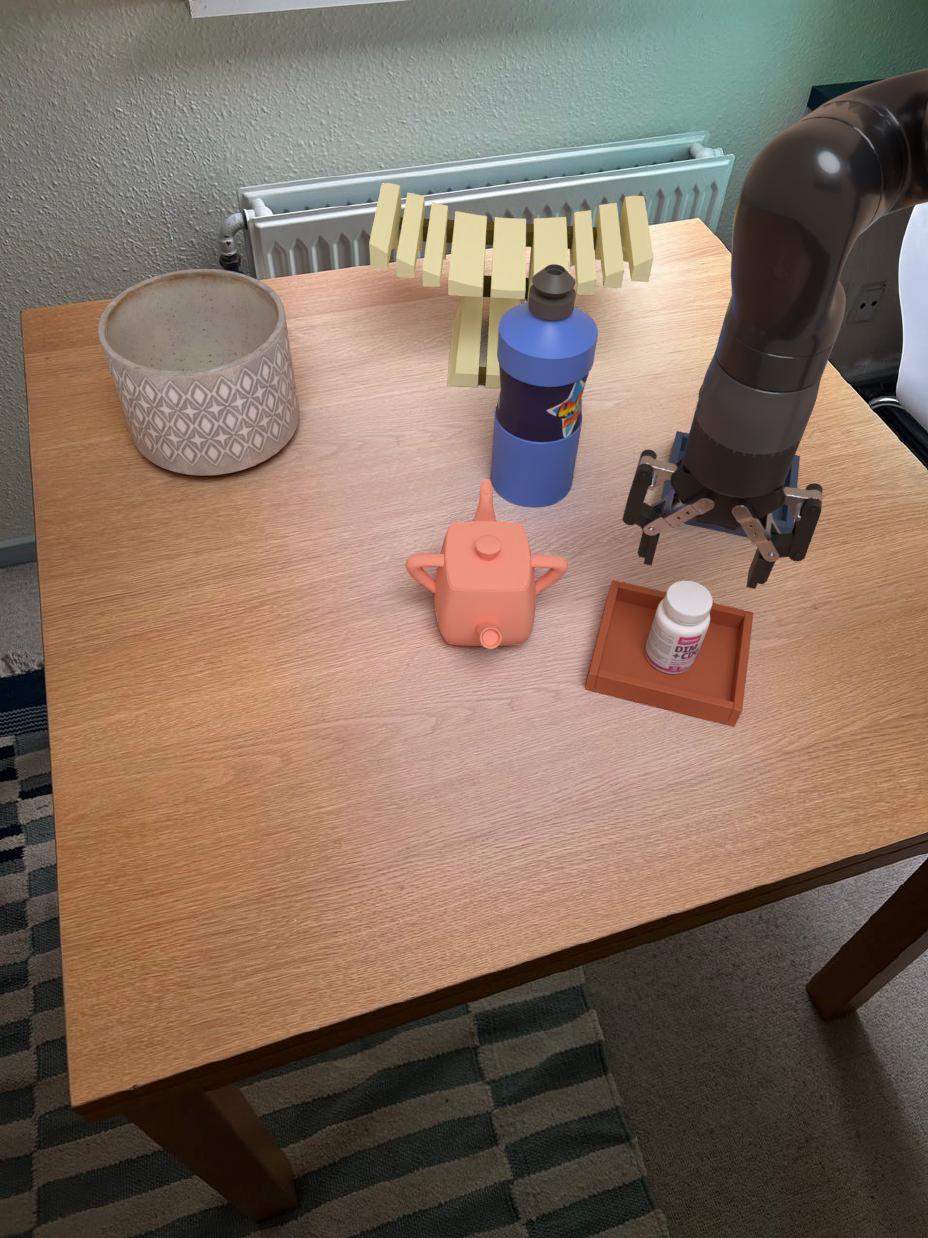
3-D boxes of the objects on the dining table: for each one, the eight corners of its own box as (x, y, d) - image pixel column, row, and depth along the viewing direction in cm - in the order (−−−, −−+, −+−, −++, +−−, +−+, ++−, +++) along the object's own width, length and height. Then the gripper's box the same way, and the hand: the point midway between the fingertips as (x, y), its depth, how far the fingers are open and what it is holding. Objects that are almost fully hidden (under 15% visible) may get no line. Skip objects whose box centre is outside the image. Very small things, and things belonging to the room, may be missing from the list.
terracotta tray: (746, 628, 88) (753, 611, 86) (734, 727, 81) (742, 711, 79) (607, 596, 90) (612, 579, 88) (584, 689, 84) (588, 673, 81)
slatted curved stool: (617, 318, 120) (642, 183, 106) (625, 394, 110) (653, 257, 96) (389, 306, 120) (384, 170, 106) (376, 381, 110) (369, 242, 97)
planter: (331, 408, 107) (320, 298, 96) (236, 507, 97) (211, 397, 85) (202, 361, 112) (176, 251, 101) (98, 450, 102) (57, 338, 90)
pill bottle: (671, 684, 83) (691, 627, 77) (633, 651, 86) (650, 593, 79) (705, 658, 85) (728, 600, 79) (668, 626, 88) (687, 568, 81)
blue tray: (792, 473, 102) (800, 455, 100) (786, 545, 95) (793, 528, 93) (671, 448, 104) (676, 430, 102) (656, 517, 98) (661, 499, 95)
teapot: (579, 630, 88) (593, 559, 80) (485, 695, 83) (490, 626, 75) (482, 545, 94) (487, 471, 86) (390, 600, 89) (386, 527, 82)
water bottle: (588, 471, 102) (626, 263, 82) (545, 520, 97) (574, 311, 77) (517, 439, 105) (537, 231, 85) (472, 484, 100) (482, 275, 80)
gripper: (640, 428, 63) (607, 583, 75) (855, 470, 60) (783, 623, 73) (657, 364, 67) (623, 520, 80) (857, 401, 65) (789, 556, 77)
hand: (699, 569), depth 76 cm, fingers open, 8 cm apart
